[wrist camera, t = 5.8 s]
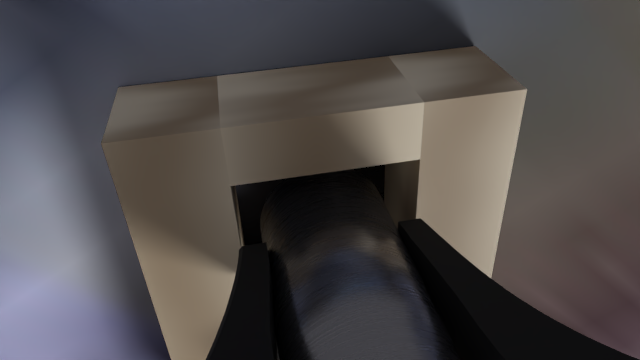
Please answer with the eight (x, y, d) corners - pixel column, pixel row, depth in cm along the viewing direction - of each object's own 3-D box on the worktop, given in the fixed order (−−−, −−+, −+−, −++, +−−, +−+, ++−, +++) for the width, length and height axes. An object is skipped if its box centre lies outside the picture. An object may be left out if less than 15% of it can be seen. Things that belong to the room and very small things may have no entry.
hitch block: (474, 46, 15) (527, 88, 13) (438, 339, 23) (467, 402, 20) (118, 87, 14) (101, 143, 12) (202, 383, 22) (202, 456, 19)
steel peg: (385, 158, 15) (503, 367, 9) (380, 257, 17) (475, 482, 11) (254, 173, 14) (288, 406, 8) (265, 274, 16) (299, 519, 10)
